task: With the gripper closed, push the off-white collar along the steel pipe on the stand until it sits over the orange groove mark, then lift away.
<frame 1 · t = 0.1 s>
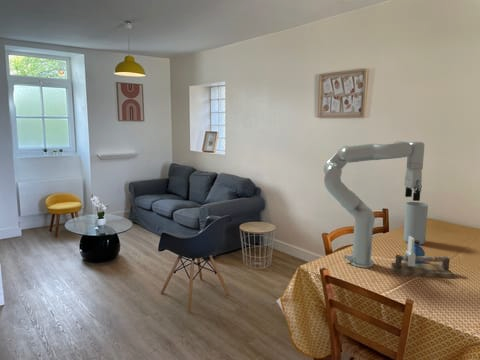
hand: (412, 198, 185), 37 cm above the table, tool pointing down, fingers open, 9 cm apart
perfume bottle: (414, 262, 196), on the table
pipe stand: (421, 271, 183), on the table
cylinder vase: (414, 242, 229), on the table
collar: (410, 250, 182), point 11 cm above the table, slide at 0.0 cm
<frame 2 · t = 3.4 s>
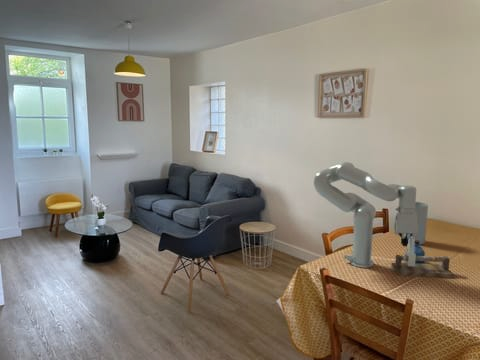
hand: (404, 245, 181), 14 cm above the table, tool pointing down, fingers closed
collar: (410, 250, 182), point 11 cm above the table, slide at 0.1 cm, touching gripper
everything else where it was.
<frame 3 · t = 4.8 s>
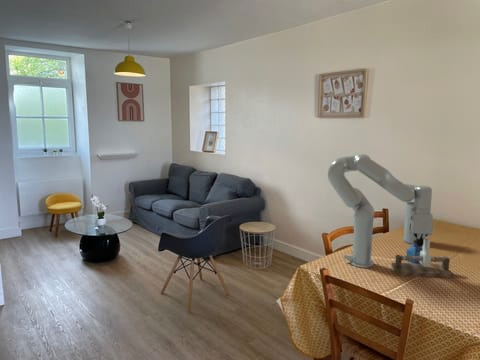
hand: (419, 245, 181), 14 cm above the table, tool pointing down, fingers closed
collar: (425, 251, 181), point 11 cm above the table, slide at 7.4 cm, touching gripper
everything else where it was.
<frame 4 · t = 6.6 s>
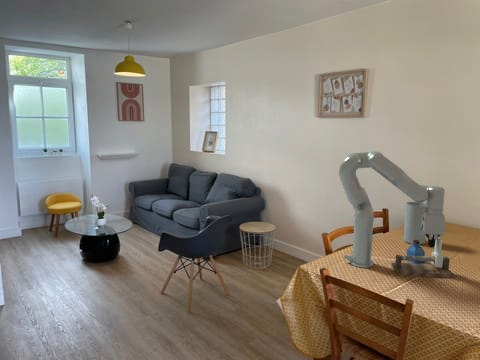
hand: (431, 246, 180), 14 cm above the table, tool pointing down, fingers closed
collar: (437, 251, 180), point 11 cm above the table, slide at 13.1 cm, touching gripper
everything else where it was.
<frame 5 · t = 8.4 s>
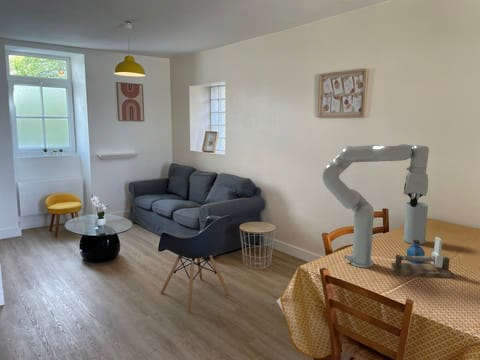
hand: (413, 206, 179), 34 cm above the table, tool pointing down, fingers closed
collar: (437, 251, 180), point 11 cm above the table, slide at 13.1 cm
everything else where it was.
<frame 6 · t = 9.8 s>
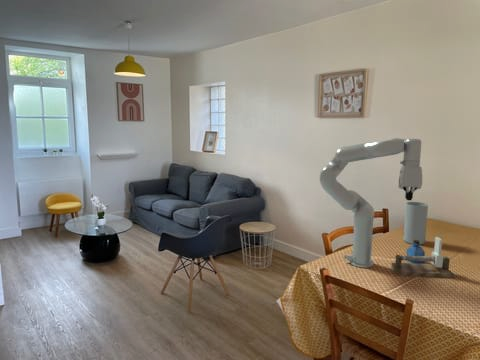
hand: (408, 199, 180), 37 cm above the table, tool pointing down, fingers closed
nothing on the table moved.
at the end: collar slide at 13.1 cm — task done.
